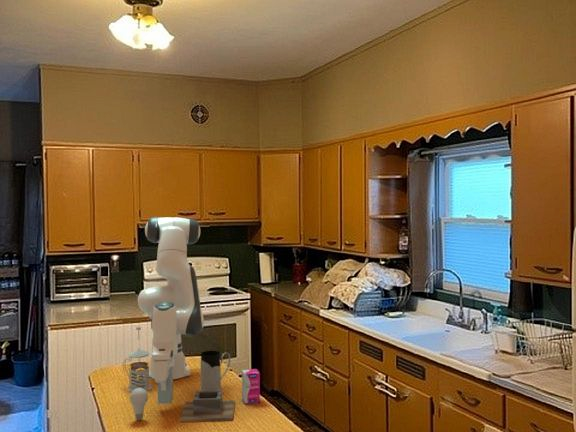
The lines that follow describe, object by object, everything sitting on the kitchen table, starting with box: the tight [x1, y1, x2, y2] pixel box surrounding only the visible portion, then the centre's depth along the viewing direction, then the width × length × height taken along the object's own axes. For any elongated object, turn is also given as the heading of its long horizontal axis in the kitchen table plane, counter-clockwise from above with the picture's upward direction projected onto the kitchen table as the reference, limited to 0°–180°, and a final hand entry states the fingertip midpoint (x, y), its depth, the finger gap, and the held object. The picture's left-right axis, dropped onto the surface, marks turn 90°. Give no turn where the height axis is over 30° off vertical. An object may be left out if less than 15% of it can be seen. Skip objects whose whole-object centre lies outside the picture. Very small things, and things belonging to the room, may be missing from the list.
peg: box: [157, 366, 174, 405], centre depth 208 cm, size 4×4×12 cm
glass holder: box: [199, 350, 231, 392], centre depth 233 cm, size 9×14×15 cm, turn 135°
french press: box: [122, 325, 153, 393], centre depth 235 cm, size 10×12×25 cm
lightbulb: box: [129, 388, 149, 421], centre depth 199 cm, size 6×6×11 cm
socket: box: [178, 390, 236, 423], centre depth 207 cm, size 18×18×6 cm
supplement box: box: [241, 368, 261, 405], centre depth 217 cm, size 6×6×12 cm
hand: (165, 387), depth 208 cm, fingers closed on peg, 4 cm apart
